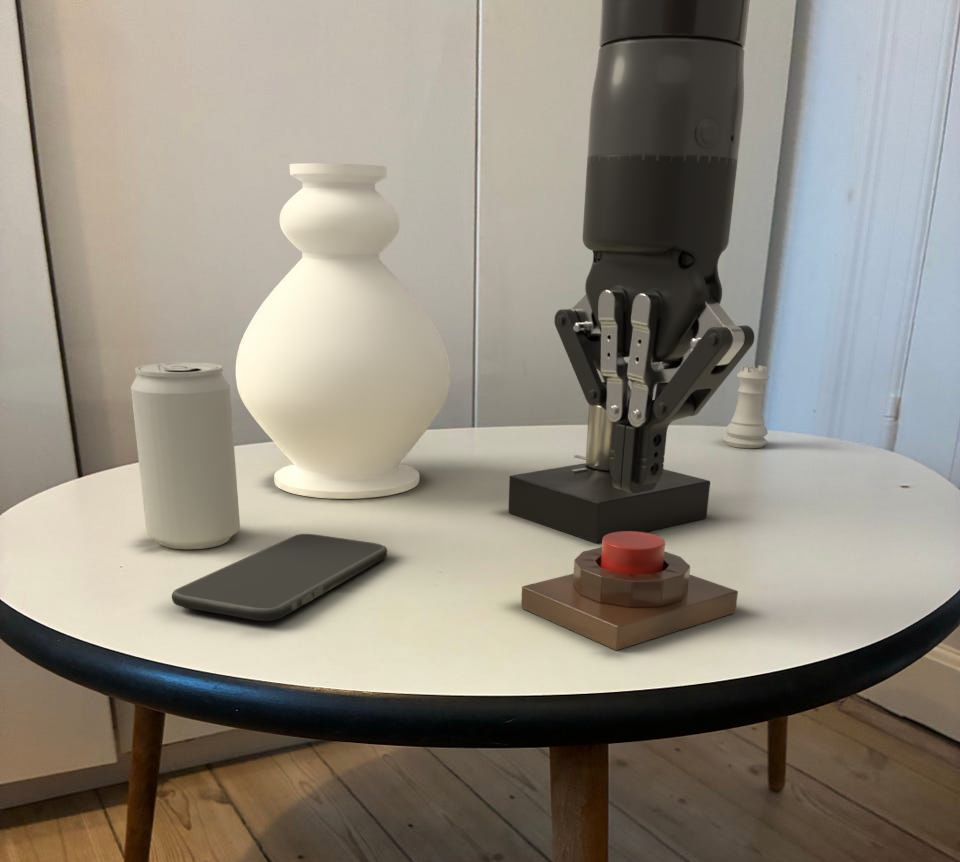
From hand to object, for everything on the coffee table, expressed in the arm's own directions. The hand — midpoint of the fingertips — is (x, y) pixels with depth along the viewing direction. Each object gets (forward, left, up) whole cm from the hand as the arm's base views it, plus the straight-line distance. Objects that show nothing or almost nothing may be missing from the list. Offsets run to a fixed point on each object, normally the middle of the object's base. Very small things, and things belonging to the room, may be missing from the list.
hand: (633, 488), depth 58 cm
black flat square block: (-15, -17, -7) cm, 23 cm away
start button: (0, 0, -5) cm, 5 cm away
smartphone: (+14, -16, -7) cm, 22 cm away
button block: (0, 0, -7) cm, 7 cm away
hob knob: (-17, -19, -4) cm, 26 cm away
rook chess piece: (-46, -28, -8) cm, 54 cm away
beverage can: (+15, -28, -8) cm, 32 cm away
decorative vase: (-3, -37, -8) cm, 38 cm away
